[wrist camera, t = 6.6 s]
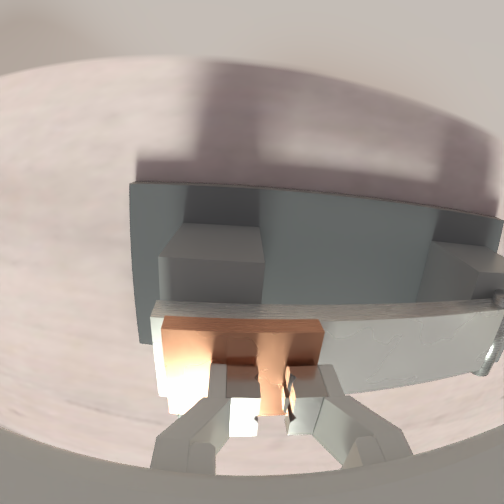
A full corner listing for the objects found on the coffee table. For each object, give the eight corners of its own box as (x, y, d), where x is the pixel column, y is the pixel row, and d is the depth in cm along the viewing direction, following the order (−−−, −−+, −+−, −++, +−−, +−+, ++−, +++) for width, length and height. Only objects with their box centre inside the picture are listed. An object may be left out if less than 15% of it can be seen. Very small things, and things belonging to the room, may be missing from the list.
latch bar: (505, 288, 13) (532, 306, 11) (478, 357, 14) (499, 379, 12) (157, 287, 11) (143, 319, 9) (165, 379, 12) (157, 417, 10)
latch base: (495, 217, 18) (586, 260, 9) (459, 338, 21) (520, 408, 13) (135, 181, 17) (46, 219, 8) (143, 334, 20) (98, 436, 12)
